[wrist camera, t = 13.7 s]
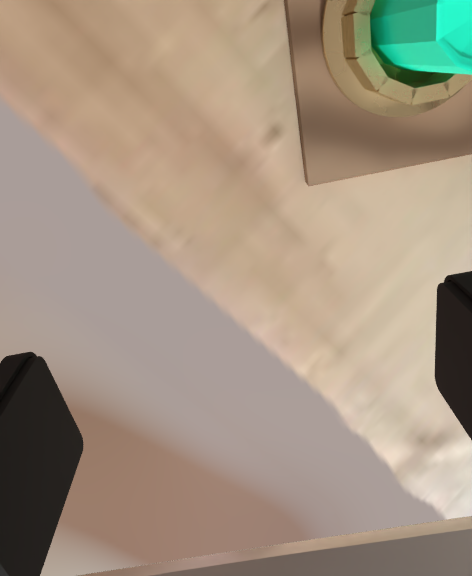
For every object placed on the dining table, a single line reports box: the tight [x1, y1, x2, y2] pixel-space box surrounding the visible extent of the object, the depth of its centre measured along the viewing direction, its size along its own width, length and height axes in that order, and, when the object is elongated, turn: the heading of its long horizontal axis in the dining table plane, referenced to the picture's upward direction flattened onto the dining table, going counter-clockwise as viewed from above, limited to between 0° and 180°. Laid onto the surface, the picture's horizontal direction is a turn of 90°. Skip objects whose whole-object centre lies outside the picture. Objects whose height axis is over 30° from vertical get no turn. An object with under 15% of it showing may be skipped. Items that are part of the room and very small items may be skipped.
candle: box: [370, 0, 472, 75], centre depth 24 cm, size 6×6×12 cm
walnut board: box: [284, 0, 472, 186], centre depth 31 cm, size 20×16×2 cm
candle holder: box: [321, 0, 472, 117], centre depth 29 cm, size 12×12×4 cm
